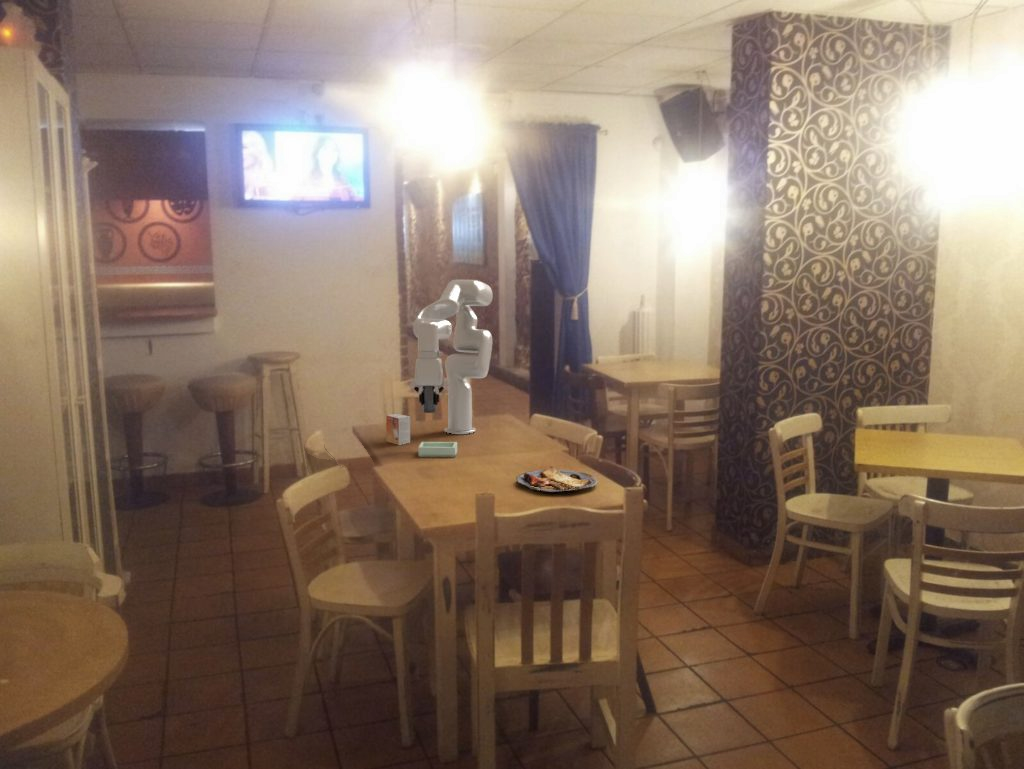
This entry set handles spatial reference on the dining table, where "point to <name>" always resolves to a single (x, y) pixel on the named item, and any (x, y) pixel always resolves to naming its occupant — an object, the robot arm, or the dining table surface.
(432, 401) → the cylinder
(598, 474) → the dining table surface
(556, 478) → the food plate
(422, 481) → the dining table surface
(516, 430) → the dining table surface
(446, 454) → the trough
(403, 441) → the small box
